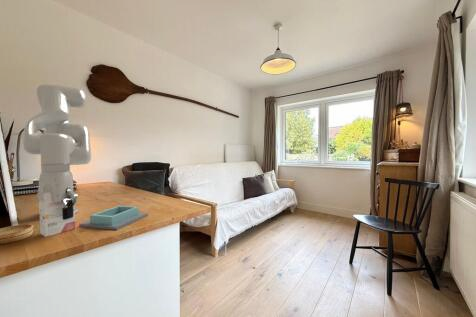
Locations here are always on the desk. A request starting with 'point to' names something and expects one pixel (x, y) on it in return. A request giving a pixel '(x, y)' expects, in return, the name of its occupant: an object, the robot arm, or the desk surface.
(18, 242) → the desk surface
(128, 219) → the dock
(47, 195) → the ink cartridge box
